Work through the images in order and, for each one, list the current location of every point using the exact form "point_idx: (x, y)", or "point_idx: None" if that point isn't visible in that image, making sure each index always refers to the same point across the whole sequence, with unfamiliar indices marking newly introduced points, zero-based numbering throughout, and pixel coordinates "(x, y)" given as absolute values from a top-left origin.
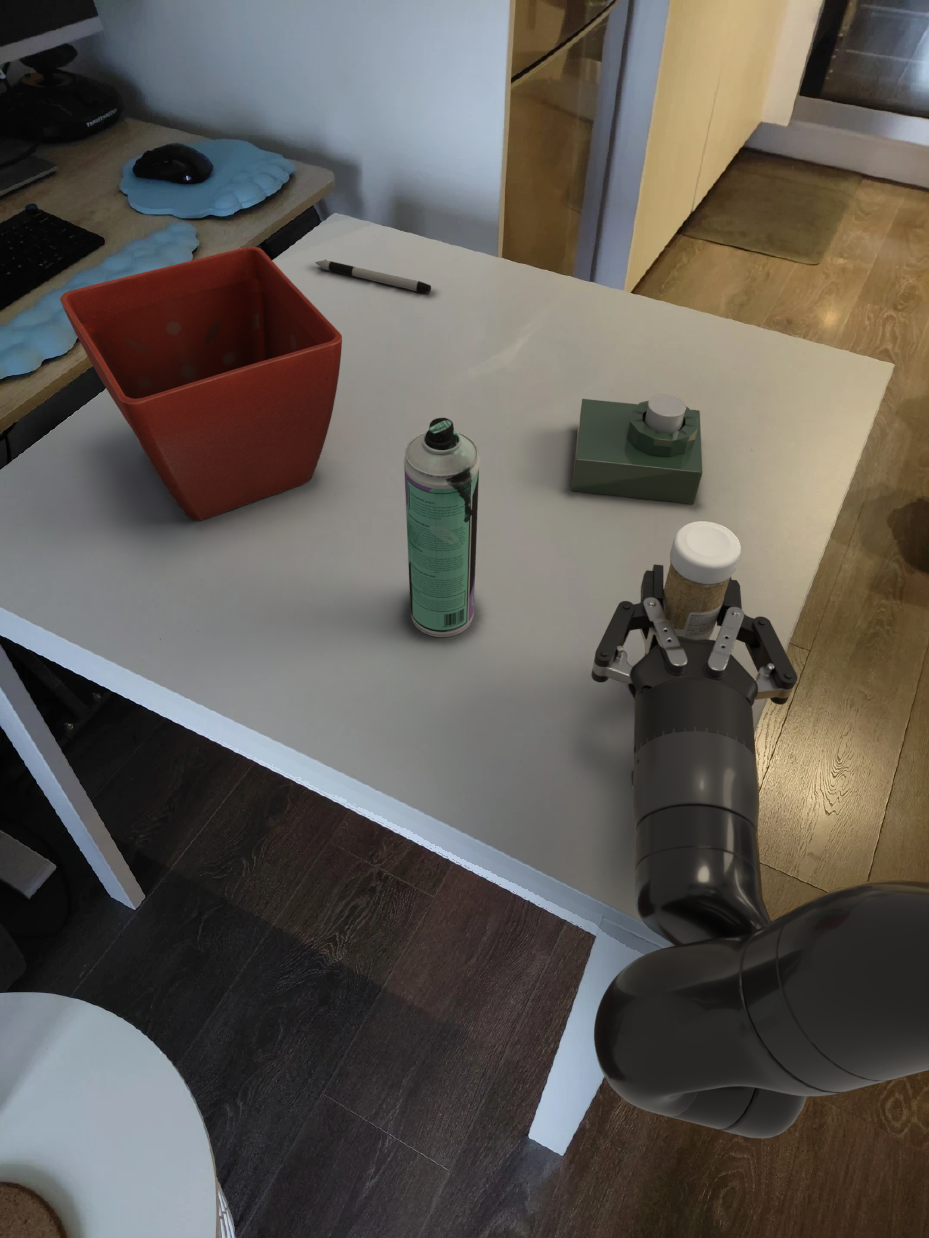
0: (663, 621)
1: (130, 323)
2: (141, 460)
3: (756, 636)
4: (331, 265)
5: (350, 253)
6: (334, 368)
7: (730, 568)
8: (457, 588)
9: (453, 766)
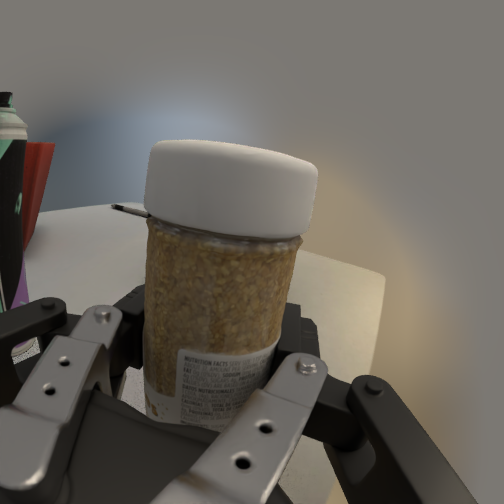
0: (79, 341)
1: None
2: None
3: (360, 425)
4: (115, 205)
5: (129, 207)
6: (32, 161)
7: (288, 187)
8: None
9: None
